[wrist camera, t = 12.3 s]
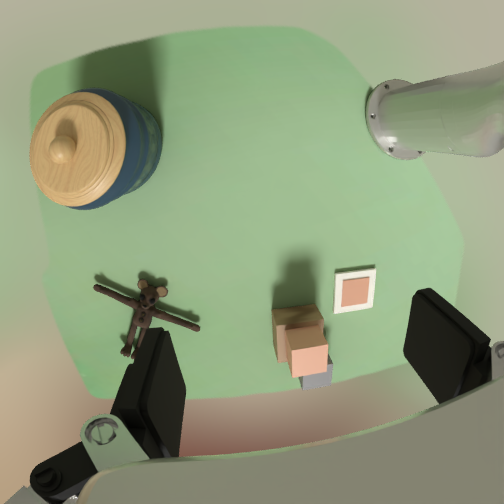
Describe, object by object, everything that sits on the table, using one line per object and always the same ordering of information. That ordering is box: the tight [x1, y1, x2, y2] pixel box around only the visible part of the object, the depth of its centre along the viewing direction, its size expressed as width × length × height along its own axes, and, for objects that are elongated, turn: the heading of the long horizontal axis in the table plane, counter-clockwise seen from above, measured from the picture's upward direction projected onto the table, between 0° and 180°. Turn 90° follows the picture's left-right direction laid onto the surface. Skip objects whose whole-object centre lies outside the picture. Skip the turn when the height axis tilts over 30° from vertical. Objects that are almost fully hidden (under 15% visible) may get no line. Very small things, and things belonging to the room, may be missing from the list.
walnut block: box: [272, 304, 324, 363], centre depth 46 cm, size 7×7×5 cm
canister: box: [30, 88, 162, 210], centre depth 29 cm, size 13×13×18 cm
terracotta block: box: [285, 325, 328, 378], centre depth 42 cm, size 5×5×5 cm
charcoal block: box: [299, 354, 333, 390], centre depth 49 cm, size 5×5×5 cm
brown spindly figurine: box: [93, 279, 200, 360], centre depth 45 cm, size 18×4×14 cm
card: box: [333, 268, 376, 314], centre depth 47 cm, size 7×7×1 cm
